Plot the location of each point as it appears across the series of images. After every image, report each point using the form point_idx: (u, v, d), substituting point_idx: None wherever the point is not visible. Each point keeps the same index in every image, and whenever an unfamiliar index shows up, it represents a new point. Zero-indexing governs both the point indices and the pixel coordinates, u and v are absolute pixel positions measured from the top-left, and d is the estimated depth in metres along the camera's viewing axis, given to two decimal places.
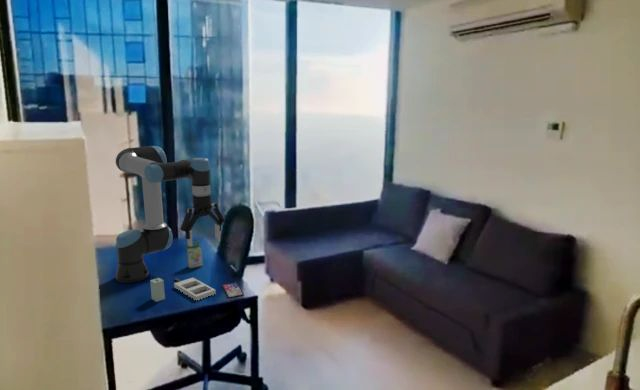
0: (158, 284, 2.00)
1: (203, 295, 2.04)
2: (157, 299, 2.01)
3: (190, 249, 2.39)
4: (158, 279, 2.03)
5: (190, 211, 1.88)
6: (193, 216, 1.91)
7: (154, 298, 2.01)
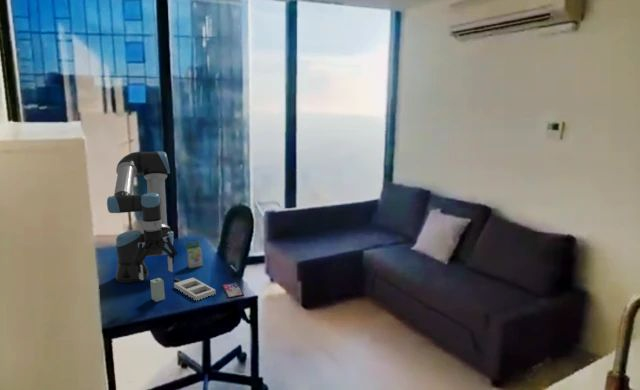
0: (158, 284, 2.00)
1: (203, 295, 2.04)
2: (157, 299, 2.01)
3: (190, 249, 2.39)
4: (158, 279, 2.03)
5: (140, 246, 1.92)
6: (144, 250, 1.96)
7: (154, 298, 2.01)
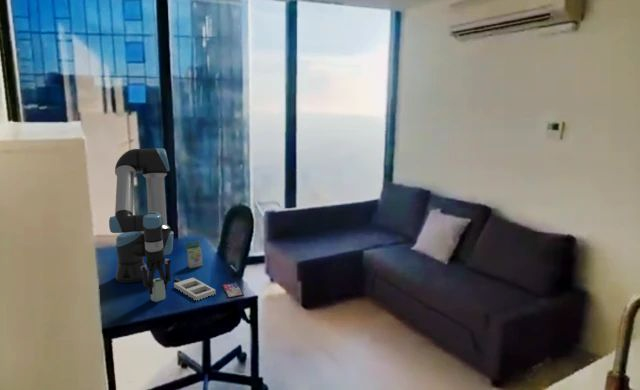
0: (158, 284, 2.00)
1: (203, 295, 2.04)
2: (157, 299, 2.01)
3: (190, 249, 2.39)
4: (158, 279, 2.03)
5: (144, 269, 1.95)
6: (150, 271, 1.99)
7: None
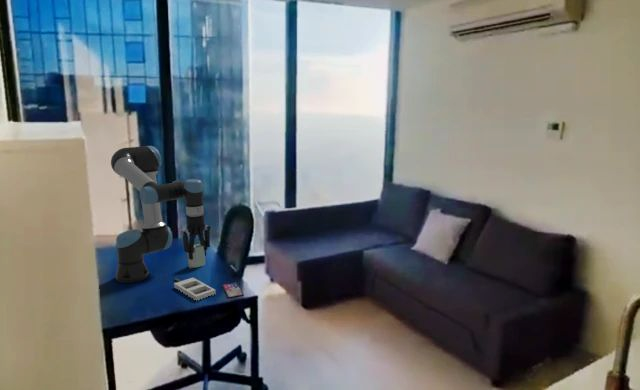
0: (199, 249, 2.01)
1: (203, 295, 2.04)
2: (197, 265, 2.02)
3: None
4: (198, 245, 2.03)
5: (185, 234, 1.96)
6: (190, 236, 2.00)
7: None
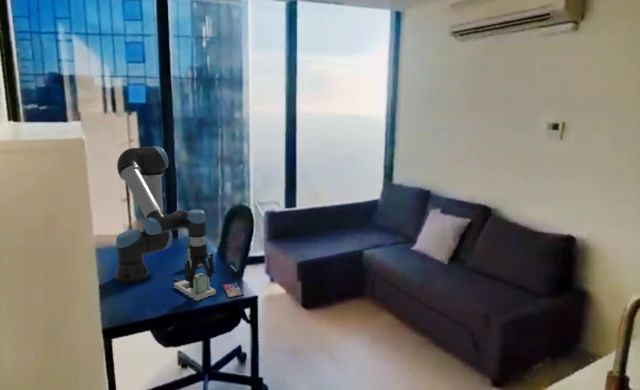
0: (202, 279, 2.05)
1: (203, 295, 2.04)
2: None
3: None
4: (201, 274, 2.07)
5: (188, 263, 1.99)
6: (192, 265, 2.03)
7: (197, 293, 2.06)
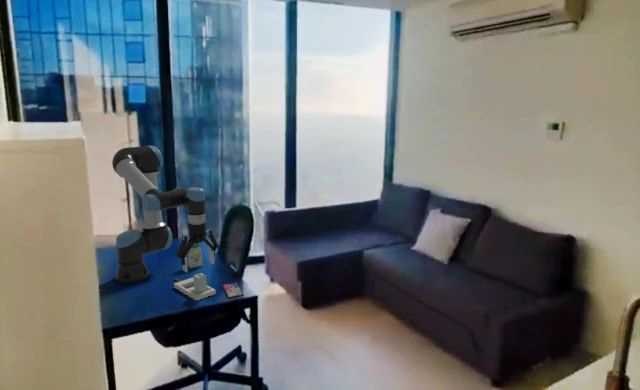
0: (202, 279, 2.05)
1: (203, 295, 2.04)
2: None
3: (190, 249, 2.39)
4: (201, 274, 2.07)
5: (185, 239, 1.97)
6: (189, 242, 2.00)
7: (197, 293, 2.06)
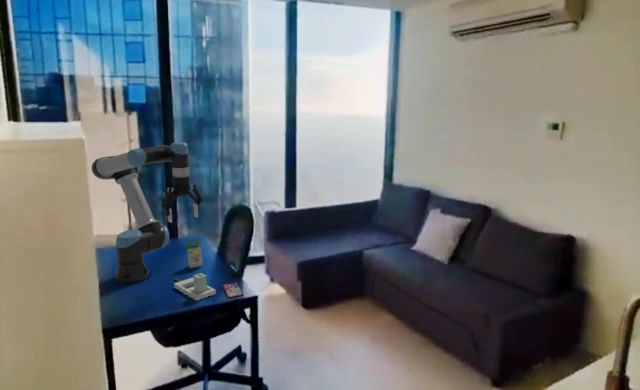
0: (202, 279, 2.05)
1: (203, 295, 2.04)
2: None
3: (190, 249, 2.39)
4: (201, 274, 2.07)
5: (170, 190, 2.08)
6: (173, 195, 2.12)
7: (197, 293, 2.06)
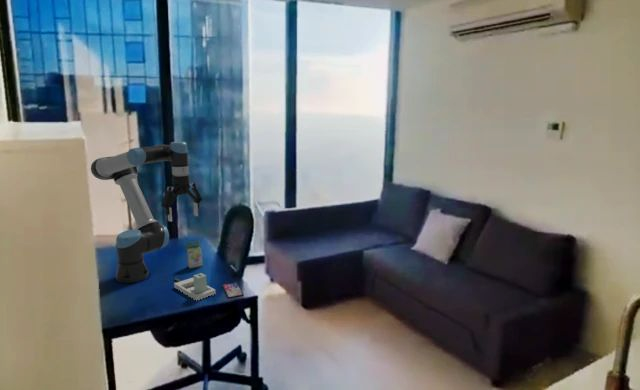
0: (202, 279, 2.05)
1: (203, 295, 2.04)
2: None
3: (190, 249, 2.39)
4: (201, 274, 2.07)
5: (170, 189, 2.09)
6: (173, 194, 2.12)
7: (197, 293, 2.06)
